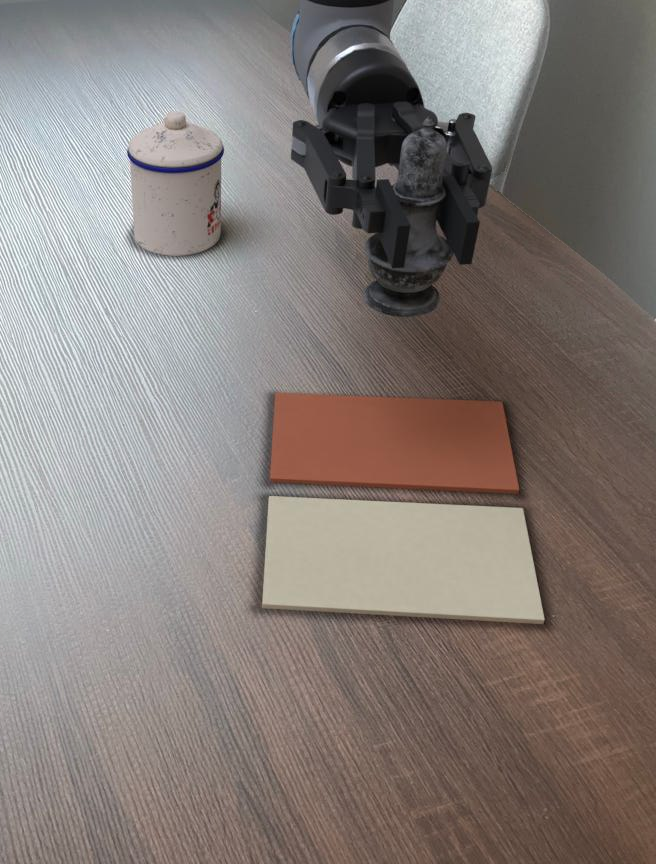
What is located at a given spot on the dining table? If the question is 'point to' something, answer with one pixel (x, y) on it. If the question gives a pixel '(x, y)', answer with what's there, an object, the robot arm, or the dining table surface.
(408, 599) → the cream mat
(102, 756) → the dining table surface
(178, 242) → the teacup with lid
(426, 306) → the dark grey chess piece
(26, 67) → the dining table surface
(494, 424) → the terracotta mat
